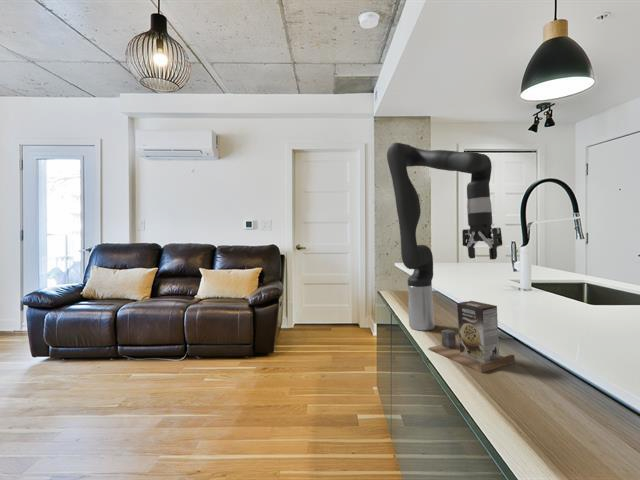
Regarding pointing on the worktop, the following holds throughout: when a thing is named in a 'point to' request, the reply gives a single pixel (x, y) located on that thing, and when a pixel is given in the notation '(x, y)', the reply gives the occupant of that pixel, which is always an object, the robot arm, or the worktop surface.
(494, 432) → the worktop surface
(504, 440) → the worktop surface
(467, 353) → the brown boxy piece
